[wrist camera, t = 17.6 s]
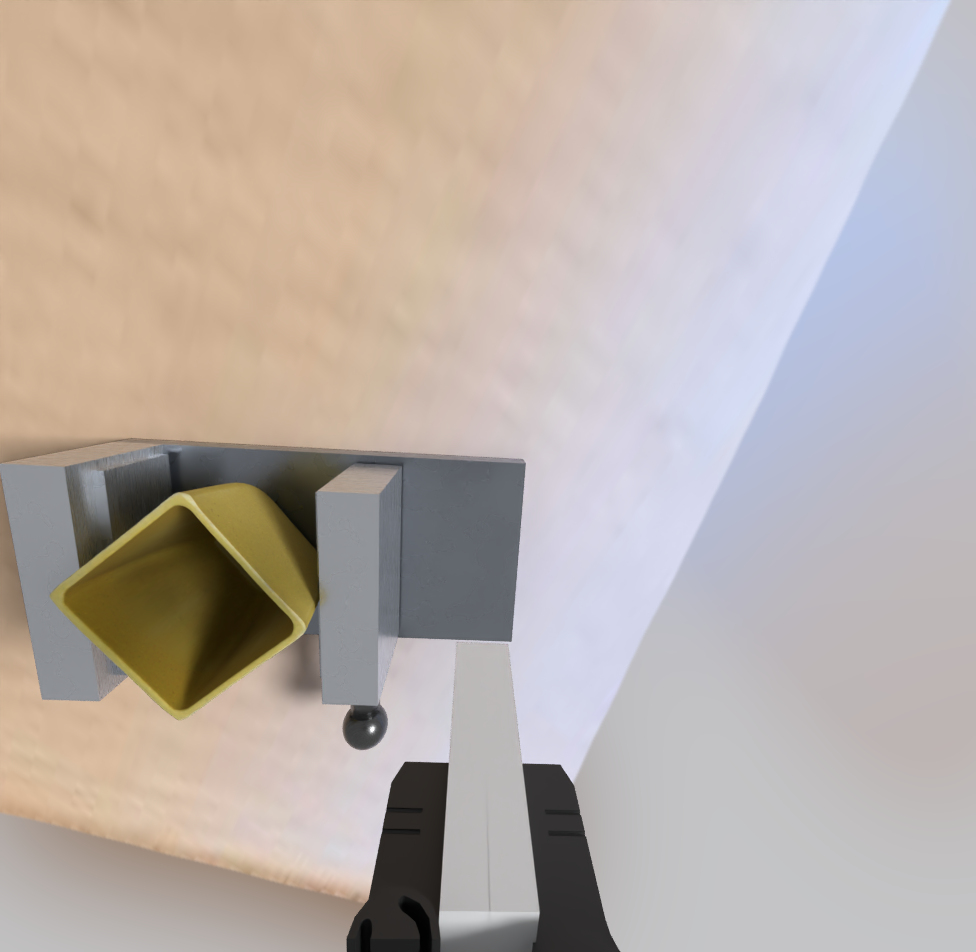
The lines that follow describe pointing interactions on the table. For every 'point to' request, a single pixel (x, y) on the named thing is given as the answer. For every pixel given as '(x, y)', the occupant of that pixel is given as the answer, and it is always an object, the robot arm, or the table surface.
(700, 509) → the table surface
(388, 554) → the block
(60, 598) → the flower pot
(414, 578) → the vise base
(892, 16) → the table surface
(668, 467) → the table surface
